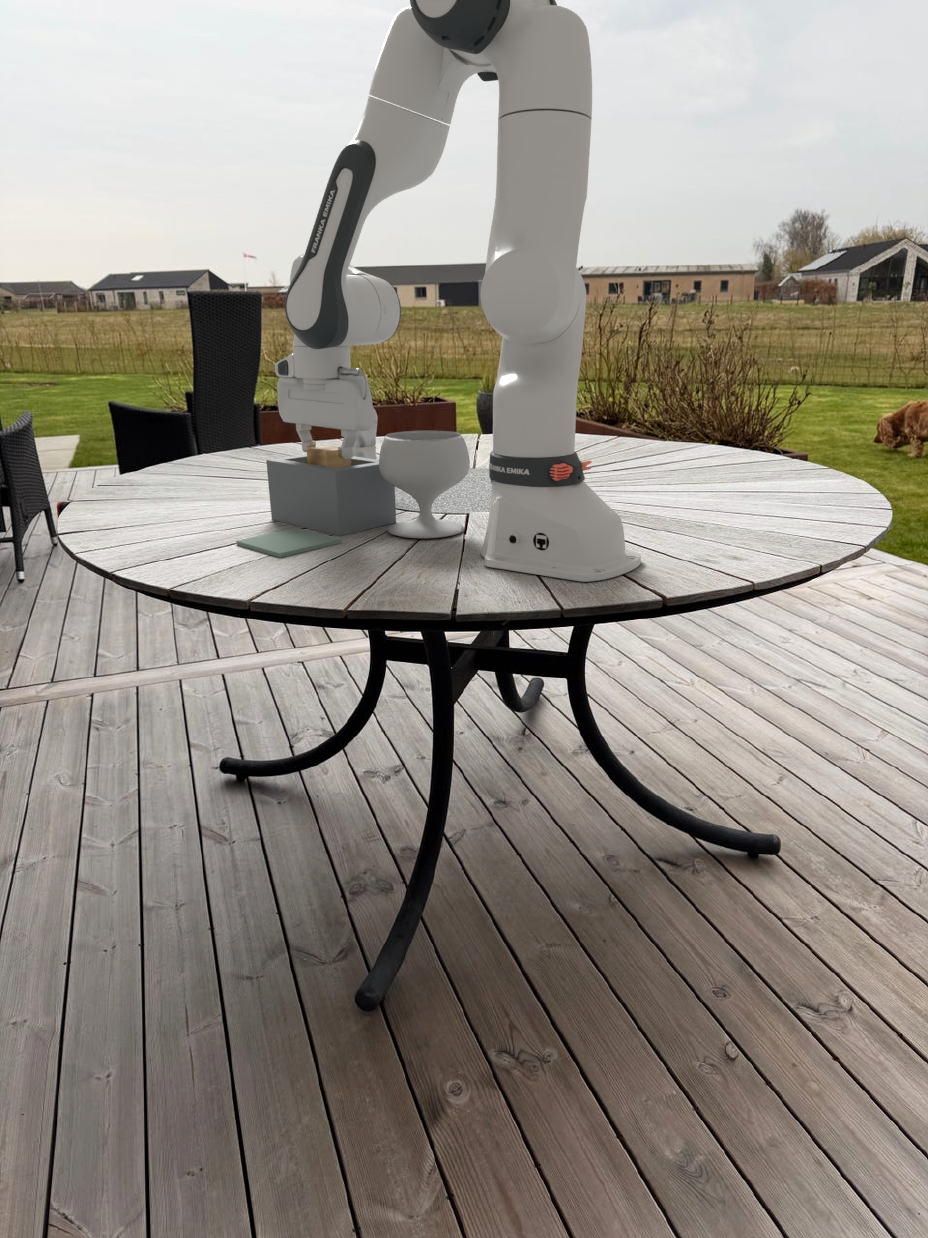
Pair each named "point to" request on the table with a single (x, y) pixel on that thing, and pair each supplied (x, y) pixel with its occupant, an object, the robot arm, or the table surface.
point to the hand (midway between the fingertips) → (327, 454)
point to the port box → (330, 495)
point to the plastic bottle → (366, 441)
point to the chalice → (424, 475)
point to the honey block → (327, 457)
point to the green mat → (288, 542)
